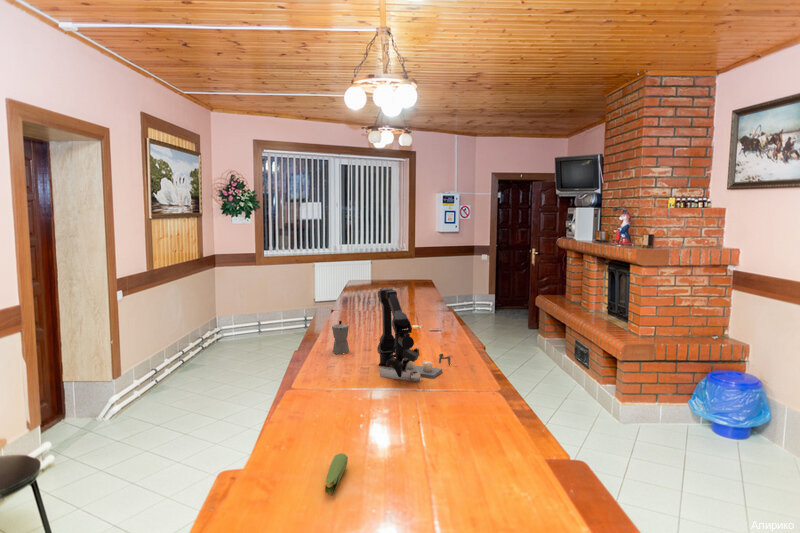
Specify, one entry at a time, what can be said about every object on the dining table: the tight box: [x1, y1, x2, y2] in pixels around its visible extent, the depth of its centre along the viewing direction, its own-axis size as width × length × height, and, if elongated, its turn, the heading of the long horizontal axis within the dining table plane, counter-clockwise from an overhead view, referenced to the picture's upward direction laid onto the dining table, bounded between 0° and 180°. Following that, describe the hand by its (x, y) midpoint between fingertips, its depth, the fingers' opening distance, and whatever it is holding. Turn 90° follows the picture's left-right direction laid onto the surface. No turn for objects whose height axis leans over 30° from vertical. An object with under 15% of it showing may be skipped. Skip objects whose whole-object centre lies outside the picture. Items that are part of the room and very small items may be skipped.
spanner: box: [379, 366, 422, 383], centre depth 243 cm, size 20×5×4 cm, turn 64°
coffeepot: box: [331, 320, 350, 355], centre depth 290 cm, size 15×9×18 cm, turn 8°
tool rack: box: [406, 360, 443, 379], centre depth 252 cm, size 21×11×6 cm, turn 64°
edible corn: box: [324, 453, 349, 495], centre depth 152 cm, size 5×20×5 cm
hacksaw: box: [438, 353, 457, 368], centre depth 270 cm, size 24×10×2 cm, turn 174°
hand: (401, 376), depth 243 cm, fingers closed on spanner, 3 cm apart
